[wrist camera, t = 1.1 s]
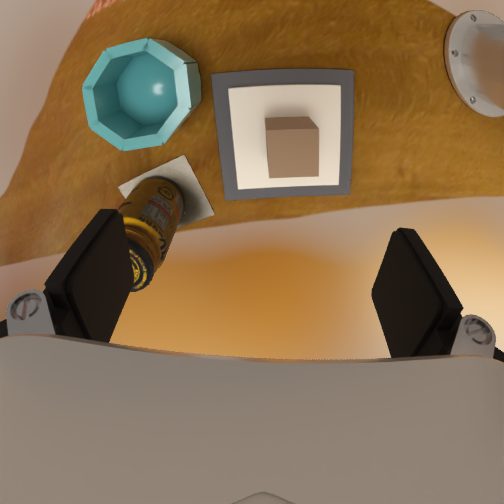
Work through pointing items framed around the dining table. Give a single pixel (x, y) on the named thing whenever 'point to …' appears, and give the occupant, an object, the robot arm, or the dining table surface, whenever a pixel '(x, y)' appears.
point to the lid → (286, 134)
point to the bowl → (141, 93)
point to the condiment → (159, 214)
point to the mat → (282, 78)
